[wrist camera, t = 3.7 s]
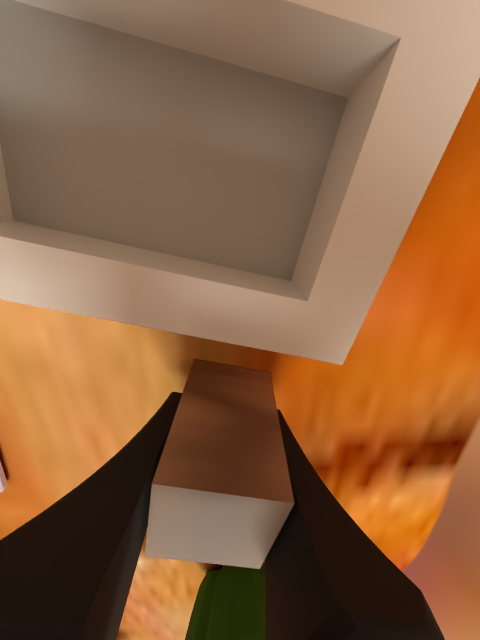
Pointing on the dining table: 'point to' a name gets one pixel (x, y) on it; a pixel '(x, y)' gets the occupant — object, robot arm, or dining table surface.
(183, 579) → the dining table surface
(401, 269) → the dining table surface
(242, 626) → the bell pepper
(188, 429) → the bracket block
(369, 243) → the well trough
